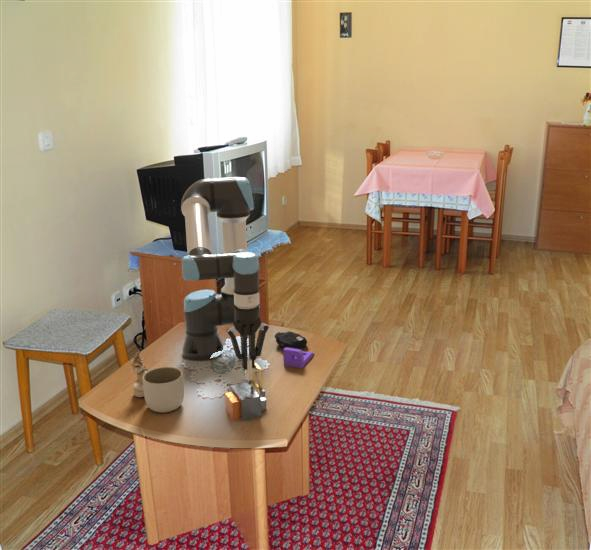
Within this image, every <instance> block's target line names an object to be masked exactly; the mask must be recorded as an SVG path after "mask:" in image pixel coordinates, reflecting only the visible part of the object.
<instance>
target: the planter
mask: <svg viewBox="0 0 591 550" xmlns="http://www.w3.org/2000/svg"><path fill="white" fill-rule="evenodd" d="M142 381H143V390H144V396H143V397H144V401H145V403H146V406H147V407H148V408H149V409H150V410H151V411H152V412H155V413H159V414H160V413H162V414H163V413H169V412H173V411H175V410H177V409H178V408H179V407H180V406H181V405H182V404H183V401H184V399H185V398H184V397H185V385H184V383H185V382H184V373H183V370H181V369H180V368H177V367H174V366H160V367H155V368H152V369H148V371H147V372H146V373H145V374H144V375H143V376H142Z"/></svg>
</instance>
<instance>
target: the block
mask: <svg viewBox="0 0 591 550" xmlns="http://www.w3.org/2000/svg"><path fill="white" fill-rule="evenodd" d="M232 391H233V393H234V394H235V395H236V397H237V398H238V399H239V401H240V412H241V419H240V420H241V421H242V422H246V421H251V420H255V419H258V418H259V419H260V418H262V411H261V398H262V397H264V398H266V390H265V389H262V390H260V392H258V390H256V389H255V387H254V386H253V384H252V383H251V380H249V381H245V382H240V383H235V384H230V392H232Z"/></svg>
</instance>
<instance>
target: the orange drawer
mask: <svg viewBox="0 0 591 550" xmlns="http://www.w3.org/2000/svg"><path fill="white" fill-rule="evenodd" d="M224 395H225V397H224V398H225V410H226V412H227V413H228V415H229V416H230V418H231V420H232V421H239V420H241V412H240V401H239V399H238V398H237V397H236V395H235V394H234V393H233V391H232V392H231V391H229V392H228V391H227V392H225V393H224ZM263 411H267V398H266V397H262V398H261V412H263Z"/></svg>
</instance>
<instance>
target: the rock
mask: <svg viewBox="0 0 591 550" xmlns="http://www.w3.org/2000/svg"><path fill="white" fill-rule="evenodd" d="M274 338H275V342H276V344H277V345H278V346H280V347H282V348H283V349H284V348H285V347H287V348H294V349H300V350H302V349H304V348H306V347H307V344H308V340H307V339H306V337H304V336H303V335H301V334H300V333H296V332H293V331H286V332H280V331H278V332H277V333H275V334H274Z"/></svg>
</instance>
